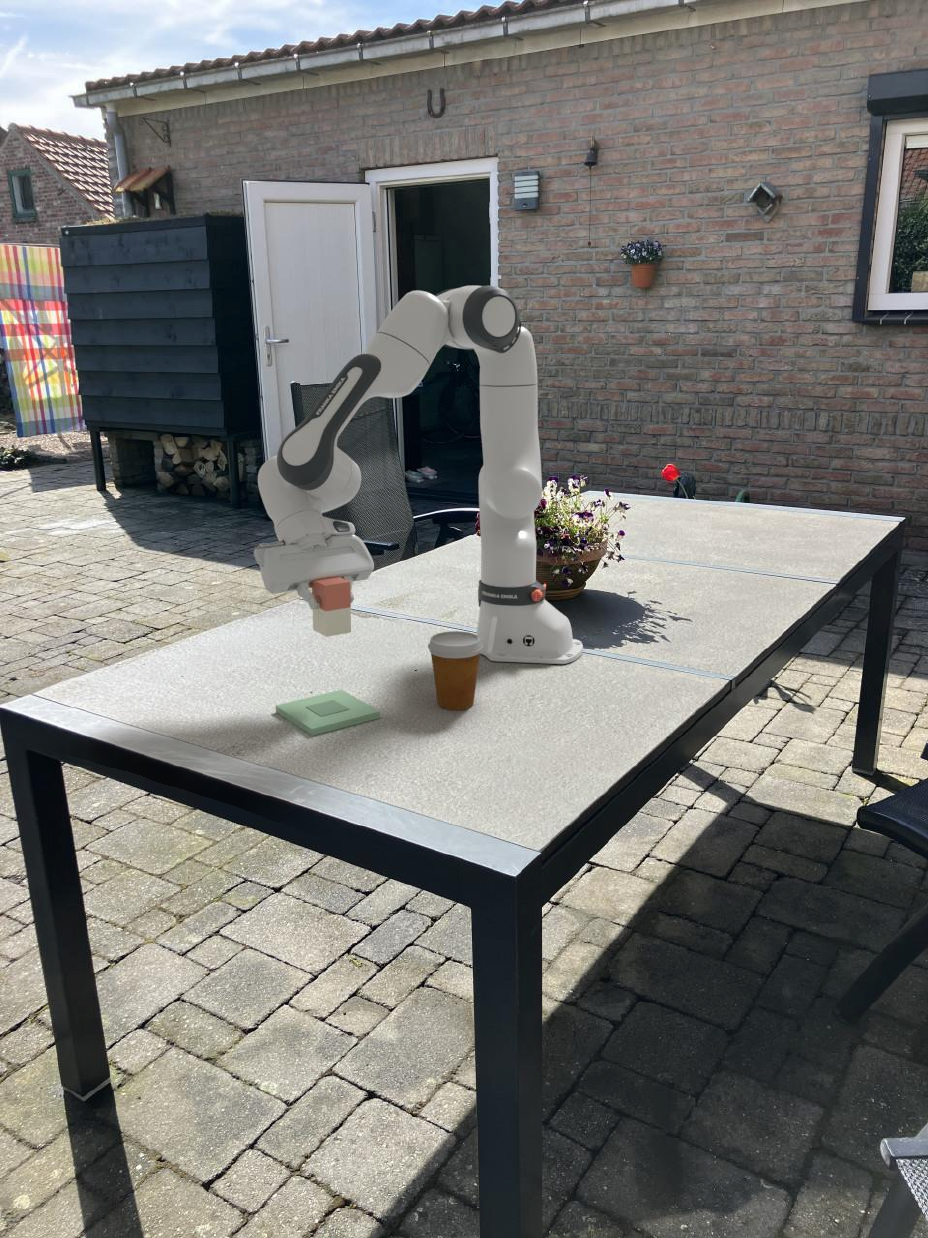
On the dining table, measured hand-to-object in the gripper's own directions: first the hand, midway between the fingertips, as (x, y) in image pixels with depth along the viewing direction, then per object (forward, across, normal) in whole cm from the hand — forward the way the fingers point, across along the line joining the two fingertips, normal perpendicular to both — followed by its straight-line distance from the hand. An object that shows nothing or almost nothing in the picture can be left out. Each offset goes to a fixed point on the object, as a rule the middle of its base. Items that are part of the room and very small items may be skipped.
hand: (333, 604), depth 175 cm
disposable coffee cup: (+22, +17, +4) cm, 28 cm away
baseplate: (+16, -4, +10) cm, 19 cm away
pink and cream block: (+3, 0, +4) cm, 5 cm away
